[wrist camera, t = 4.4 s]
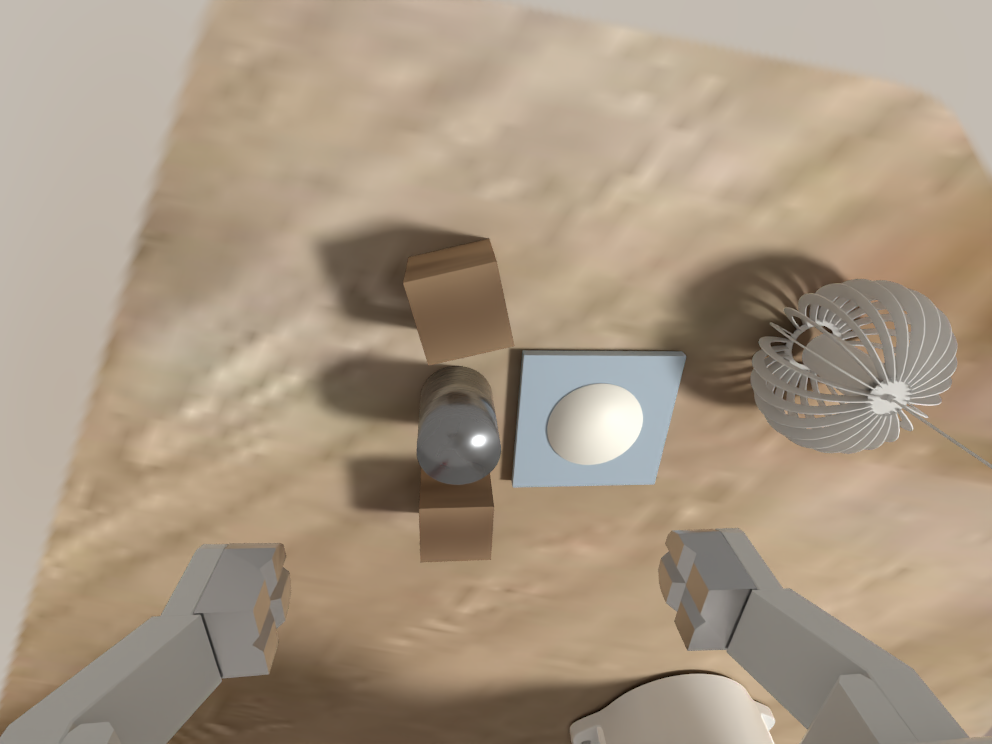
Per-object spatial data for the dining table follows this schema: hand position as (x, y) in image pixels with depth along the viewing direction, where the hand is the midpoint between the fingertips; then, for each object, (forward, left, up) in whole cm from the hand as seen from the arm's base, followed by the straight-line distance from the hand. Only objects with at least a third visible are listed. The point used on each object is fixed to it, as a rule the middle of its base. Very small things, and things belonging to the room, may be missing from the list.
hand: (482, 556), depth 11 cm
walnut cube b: (0, 0, -17) cm, 17 cm away
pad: (-8, -8, -17) cm, 20 cm away
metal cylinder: (-6, 0, -17) cm, 18 cm away
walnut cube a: (-13, 0, -17) cm, 21 cm away
